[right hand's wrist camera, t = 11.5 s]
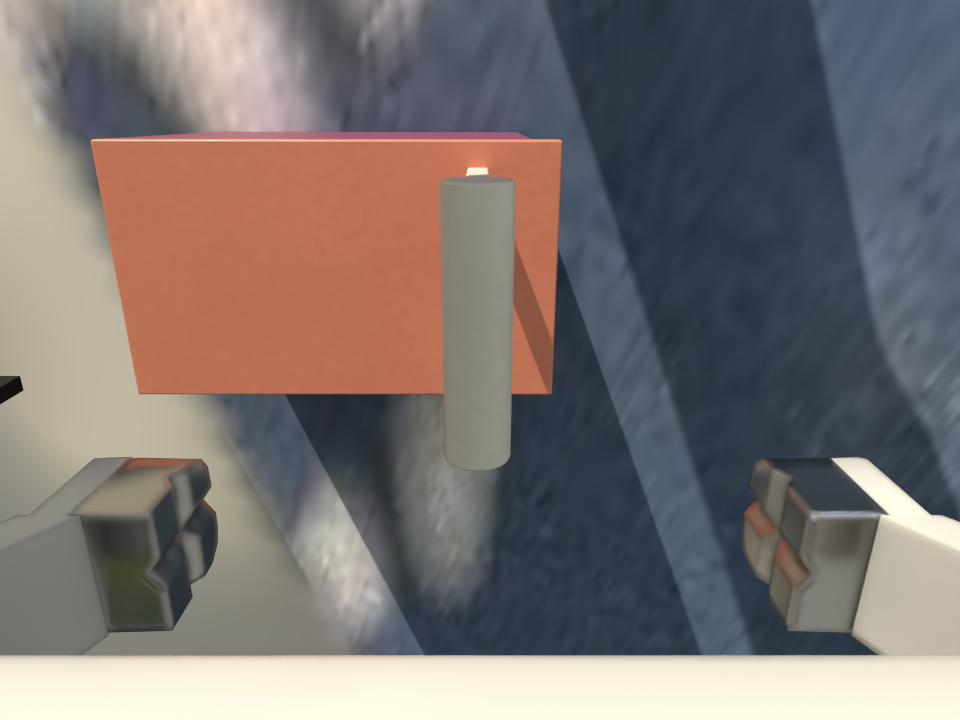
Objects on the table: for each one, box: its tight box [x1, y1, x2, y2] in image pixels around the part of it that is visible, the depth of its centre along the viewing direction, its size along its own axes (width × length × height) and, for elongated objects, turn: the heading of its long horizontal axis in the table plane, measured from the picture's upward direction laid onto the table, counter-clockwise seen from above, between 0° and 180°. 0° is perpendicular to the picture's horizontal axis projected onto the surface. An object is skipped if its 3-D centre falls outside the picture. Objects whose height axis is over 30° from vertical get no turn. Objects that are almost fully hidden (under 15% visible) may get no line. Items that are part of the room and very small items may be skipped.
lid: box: [91, 139, 562, 471], centre depth 21 cm, size 16×9×8 cm, turn 90°
